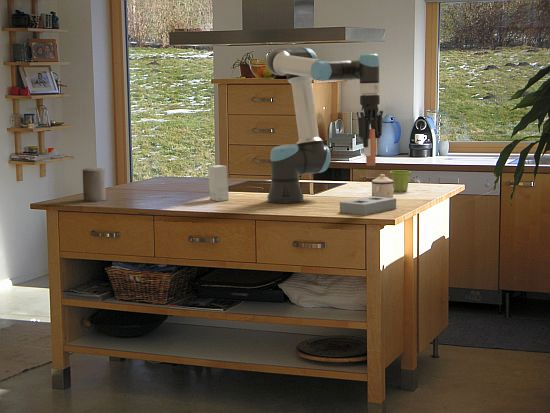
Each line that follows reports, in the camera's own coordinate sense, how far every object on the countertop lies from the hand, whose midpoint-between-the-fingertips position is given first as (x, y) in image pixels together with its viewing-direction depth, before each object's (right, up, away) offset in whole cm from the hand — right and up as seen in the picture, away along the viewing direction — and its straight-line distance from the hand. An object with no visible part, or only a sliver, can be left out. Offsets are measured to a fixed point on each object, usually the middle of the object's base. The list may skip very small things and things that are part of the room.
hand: (370, 155), depth 369 cm
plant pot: (+19, -13, +55) cm, 60 cm away
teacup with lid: (+6, -19, +19) cm, 27 cm away
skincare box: (-61, -17, +38) cm, 74 cm away
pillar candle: (-116, -17, +46) cm, 126 cm away
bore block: (-1, -22, 0) cm, 22 cm away
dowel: (0, -4, 0) cm, 4 cm away
